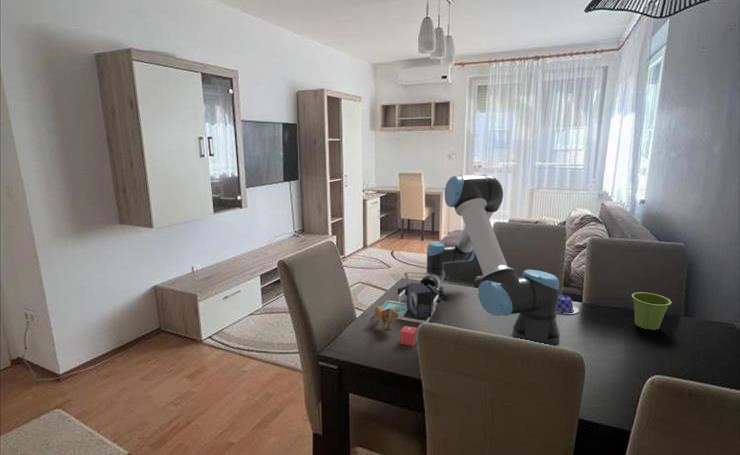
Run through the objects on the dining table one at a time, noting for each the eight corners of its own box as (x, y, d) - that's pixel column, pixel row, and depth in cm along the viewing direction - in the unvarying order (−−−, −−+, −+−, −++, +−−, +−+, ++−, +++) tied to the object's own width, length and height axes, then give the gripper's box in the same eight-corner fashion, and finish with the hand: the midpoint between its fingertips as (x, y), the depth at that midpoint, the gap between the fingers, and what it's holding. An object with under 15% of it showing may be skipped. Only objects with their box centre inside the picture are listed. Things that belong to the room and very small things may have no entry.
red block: (416, 340, 139) (417, 326, 138) (413, 346, 135) (413, 331, 134) (404, 337, 141) (404, 324, 140) (400, 343, 137) (400, 329, 136)
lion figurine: (400, 332, 145) (401, 308, 143) (389, 336, 142) (389, 312, 140) (376, 317, 157) (376, 295, 155) (365, 321, 154) (365, 298, 152)
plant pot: (620, 324, 152) (624, 295, 149) (639, 317, 157) (643, 290, 155) (654, 337, 141) (659, 307, 139) (673, 330, 147) (678, 301, 144)
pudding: (579, 317, 158) (580, 305, 157) (545, 312, 163) (546, 300, 162) (577, 306, 169) (579, 294, 167) (546, 301, 173) (547, 290, 172)
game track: (435, 309, 165) (435, 307, 164) (427, 323, 152) (427, 321, 152) (387, 302, 172) (387, 300, 172) (375, 315, 159) (375, 313, 159)
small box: (405, 308, 164) (405, 283, 162) (420, 306, 166) (421, 281, 164) (416, 319, 154) (416, 292, 152) (431, 316, 156) (432, 290, 154)
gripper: (458, 296, 171) (448, 315, 152) (401, 288, 180) (385, 306, 161) (459, 279, 170) (449, 297, 151) (402, 272, 179) (385, 288, 160)
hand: (416, 301), depth 156 cm, fingers open, 13 cm apart
